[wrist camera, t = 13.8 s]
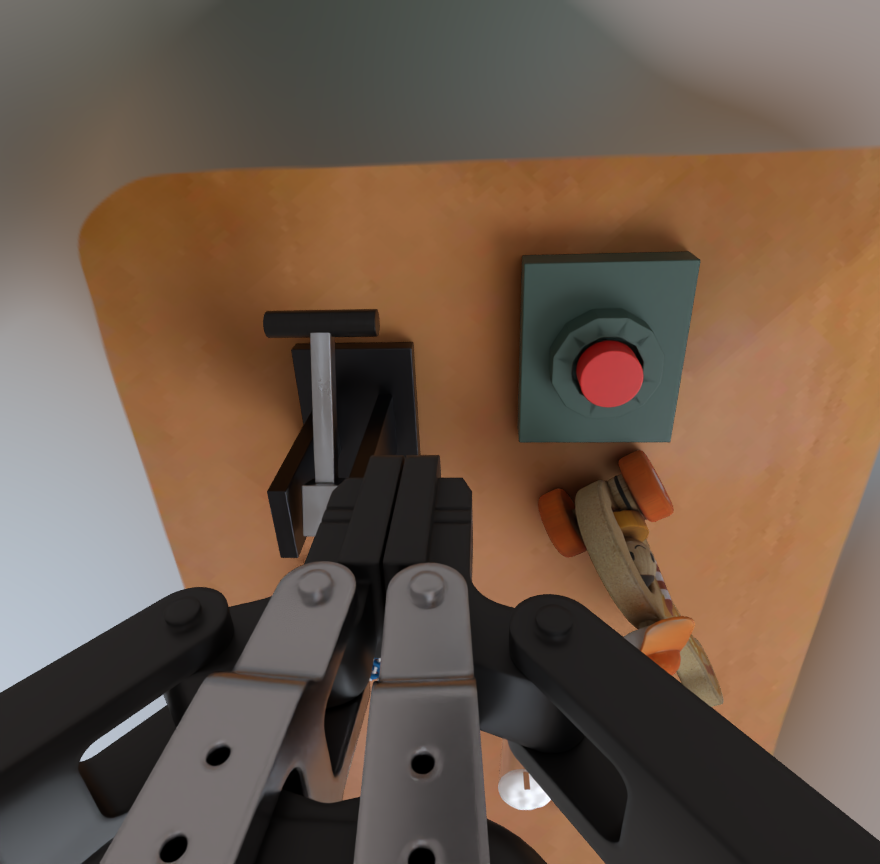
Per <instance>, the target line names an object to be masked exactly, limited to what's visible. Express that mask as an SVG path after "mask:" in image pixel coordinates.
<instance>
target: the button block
mask: <svg viewBox="0 0 880 864" xmlns="http://www.w3.org/2000/svg"><path fill="white" fill-rule="evenodd" d="M699 266H700V259H698V258H697V257H696V256H694V255H693V254H692V253H690V252H689V251H686V252H644V253H601V254H559V255H523V256H522V277H521V314H520V352H519V389H518V426H517V427H518V437H519V442H670V441H671V435H672V429H673V423H674V417H675V411H676V405H677V399H678V393H679V387H680V381H681V375H682V369H683V363H684V357H685V351H686V345H687V339H688V333H689V327H690V321H691V315H692V308H693V302H694V296H695V290H696V284H697V278H698V272H699ZM607 340H613V341H618V342H621V343H624V344H625V345H627V346H628V347H629V348H631V350H632V351H633V352H634V354H635V356H636V357H637V359H638V361H639V362H640V364H641V366H642V369H643V383H642V386H641V388H640V390H639V391H638V393H637V394H636V395H635V396H634V397H633V398H632V399H631V400H630V401H628V402H627V403H625V404H622V405H620V406H616V407H601V406H597V405H595V404H593V403H591V402H590V401H589V400H587V399H586V397H585V396H584V395H583V393H582V391H581V388H580V385H579V382H578V379H577V375H576V367H577V363H578V360H579V358H580V356H581V355H582V354H583V352H584V351H585V350H586V349H587V348H589V347H590V346H592V345H593V344H596V343H598V342H601V341H607Z"/></svg>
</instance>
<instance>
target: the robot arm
mask: <svg viewBox="0 0 880 864" xmlns="http://www.w3.org/2000/svg"><path fill="white" fill-rule="evenodd" d="M472 559H473V527H472V491H471V489H470V488H469V486H468V485H467V483H466V482H465V481H464V479H463V478H441V466H440V456H439V455H406V458H405V456H404V455H372V456H371V457H370V459H369V462H368V465H367V468H366V472H365V475H364V478H346V479H345V480H344V481H343V482H342V483H341V484H339V485H338V486H337V487H336V488H335V489H334V490H333V491H332V493H331V496H330V498H329V501H328V504H327V506H326V510H325V511H324V514H323V517H322V522H321V523H320V524H319V527H318V530H317V532H316V535H315V537H314V540H313V543H312V545H311V548H310V550H309V553H308V556H307V558H306V561H305V563H304V565H302V566H300V567H298V568H296V569H294V570H292V571H291V572H289V573H288V574H287V575H286V576H284V578H283V579H282V580H281V581H280V583H279V584H278V586H277V588H276V590H275V591H274V593H273V595H272V596H270V597H268V598H265V599H261V600H258V601H253V602H249V603H244V604H240V605H235V606H231V607H228V603H227V600H226V598H225V597H224V596H223V594H222V593H220V592H219V591H217V590H214V589H211V588H206V587H194V588H188V589H184V590H180V591H177V592H175V593H172V594H170V595H168V596H166V597H164V598H163V599H161V600H159V601H158V602H156V603H154V604H152V605H151V606H149V607H147V608H145V609H144V610H142V611H140V612H139V613H137V614H135V615H134V616H132V617H130V618H128V619H126V620H125V621H123V622H121V623H120V624H118V625H116V626H114V627H113V628H111V629H110V630H108V631H106V632H104V633H102V634H101V635H99V636H97V637H96V638H94V639H92V640H90V641H89V642H87V643H85V644H84V645H82V646H80V647H78V648H77V649H75V650H73V651H72V652H70V653H68V654H66V655H65V656H63V657H61V658H60V659H58V660H56V661H54V662H53V663H51V664H49V665H47V666H46V667H44V668H42V669H41V670H39V671H37V672H35V673H34V674H32V675H30V676H28V677H27V678H25V679H23V680H22V681H20V682H18V683H16V684H15V685H13V686H11V687H10V688H8V689H6V690H4V691H3V692H1V693H0V864H547V863H546V862H545V861H544V860H543V859H542V858H541V856H540V855H539V854H538V853H537V852H536V851H535V850H534V849H533V848H532V847H530V846H529V845H528V844H527V843H526V842H524V841H523V840H522V839H521V838H520V837H518V836H517V835H515V834H514V833H512V832H511V831H509V830H508V829H506V828H505V827H503V826H501V825H499V824H497V823H495V822H493V821H491V820H489V819H487V817H486V804H485V791H484V778H483V764H482V751H481V738H480V730H482V731H484V732H487V733H490V734H492V735H495V736H498V737H501V738H503V739H506V740H507V741H508V744H509V747H510V750H511V752H512V753H513V755H514V756H515V758H516V759H517V760H518V761H519V762H520V764H521V765H522V766H523V767H524V768H525V769H526V771H527V772H528V773H529V774H530V775H531V776H532V778H533V779H534V780H535V781H536V782H537V784H538V785H539V786H540V787H541V788H542V789H543V791H544V792H545V793H546V794H547V795H548V796H549V798H550V799H551V800H552V801H553V802H554V803H555V805H556V806H557V807H558V808H559V809H560V811H561V812H562V813H563V814H564V815H565V816H566V818H567V819H568V820H569V821H570V822H571V823H572V825H573V826H574V827H575V828H576V829H577V831H578V832H579V833H580V834H581V835H582V836H583V838H584V839H585V840H586V841H587V842H588V843H589V845H590V846H591V847H592V848H593V849H594V850H595V852H596V853H597V854H598V855H599V856H600V858H601V859H602V860H603V861H604V862H605V863H606V864H880V841H879V840H878V839H876V838H875V837H874V836H873V835H871V834H870V833H869V832H868V831H866V830H865V829H864V828H863V827H861V826H860V825H859V824H858V823H856V822H855V821H854V820H852V819H851V818H850V817H849V816H848V815H846V814H845V813H844V812H842V811H841V810H840V809H839V808H837V807H836V806H835V805H834V804H832V803H831V802H830V801H829V800H827V799H826V798H825V797H824V796H822V795H821V794H820V793H819V792H817V791H816V790H815V789H814V788H812V787H811V786H809V784H807V783H806V782H805V781H804V780H802V779H801V778H800V777H798V776H797V775H796V774H795V773H793V772H792V771H791V770H790V769H788V768H787V767H786V766H785V765H783V764H782V763H781V762H780V761H778V760H777V759H776V758H775V757H773V756H772V755H771V754H770V753H768V752H767V751H766V750H765V749H763V748H762V747H761V746H760V745H758V744H757V743H756V742H754V741H753V740H752V739H751V738H749V737H748V736H747V735H746V734H744V733H743V732H742V731H741V730H739V729H738V728H737V727H736V726H734V725H733V724H732V723H731V722H729V721H728V720H727V719H726V718H724V717H723V716H722V715H721V714H719V713H718V712H717V711H716V710H714V709H713V708H712V707H710V706H709V705H708V704H707V703H705V702H704V701H703V700H702V699H700V698H699V697H698V696H697V695H695V694H694V693H693V692H692V691H690V690H689V689H688V688H687V687H685V686H684V685H683V684H682V683H680V682H679V681H678V680H677V679H675V678H674V677H673V676H672V675H670V674H669V673H668V672H667V671H665V670H664V669H663V668H661V667H660V666H659V665H658V664H656V663H655V662H654V661H653V660H651V659H650V658H649V657H648V656H646V655H645V654H644V653H643V652H641V651H640V650H639V649H638V648H636V647H635V646H634V645H633V644H631V643H630V642H629V641H628V640H626V639H625V638H624V637H623V636H621V635H620V634H619V633H617V632H616V631H615V630H614V629H612V628H611V627H610V626H609V625H607V624H606V623H605V622H604V621H602V620H601V619H600V618H599V617H597V616H596V615H595V614H594V613H592V612H591V611H590V610H589V609H587V608H586V607H585V606H583V605H582V604H580V603H579V602H577V601H575V600H573V599H571V598H568V597H565V596H560V595H553V594H543V595H537V596H533V597H530V598H528V599H526V600H524V601H522V602H521V603H519V604H518V605H517V606H516V607H515V608H512V607H509V606H505V605H502V604H499V603H496V602H494V601H492V600H490V599H488V598H486V597H485V596H483V595H482V594H481V593H480V592H479V591H478V590H477V589H476V588H475V586H474V585H473V583H472ZM374 658H381V661H380V672H379V680H378V681H374V683H373V686H372V691H371V698H370V681H369V680H370V677H371V672H372V667H373V662H374ZM161 695H164V698H165V700H166V703H167V705H166V706H165V707H163V708H162V709H161V710H159V711H158V712H157V713H155V714H154V715H152V716H151V717H149V718H148V719H146V720H145V721H144V722H142V723H141V724H139V725H138V726H137V727H135V728H134V729H132V730H131V731H130V732H128V733H127V734H125V735H124V736H122V737H121V738H119V739H118V740H117V741H115V742H114V743H112V744H111V745H110V746H108V747H107V748H105V749H104V750H102V751H101V752H100V753H98V754H97V755H95V756H93V757H92V758H90V759H88V760H85V761H82V762H80V759H81V757H82V755H83V754H84V752H85V751H86V749H88V747H89V746H90V745H91V744H92V743H94V742H95V741H96V740H97V739H99V738H100V737H102V736H103V735H105V734H106V733H108V732H109V731H111V730H112V729H113V728H115V727H116V726H118V725H119V724H121V723H122V722H124V721H125V720H127V719H128V718H129V717H131V716H132V715H133V714H135V713H137V712H138V711H140V710H141V709H143V708H144V707H145V706H147V705H148V704H150V703H151V702H153V701H154V700H155V699H157V698H158V697H160V696H161ZM369 698H370V708H369V718H368V728H367V737H366V747H365V757H364V767H363V776H362V786H361V796H360V797H357V798H353V799H348V800H344V801H342V800H343V794H344V789H345V785H346V781H347V777H348V774H349V770H350V767H351V763H352V759H353V756H354V752H355V749H356V745H357V741H358V738H359V734H360V731H361V727H362V723H363V720H364V716H365V712H366V709H367V705H368V702H369Z"/></svg>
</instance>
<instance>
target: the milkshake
mask: <svg viewBox="0 0 880 864" xmlns="http://www.w3.org/2000/svg"><path fill="white" fill-rule="evenodd" d="M498 790H499V794H500V796H501V797H502V799H503V800H504V801H505V802H506V803H507V804H509V805H510V806H512V807H514V808H516V809H519V810H532V809H535V808H539V807H543V806H544V805H546V804H547V803H548V802H549V801H550V800H551V799H550V798H549V796H548V795H547V794H546V793H545V792H544V791H543V789H542V788H541V787H540V786H539V785H538V784H537V782H536V781H535V780H534V779H533V778H532V776H531V775H530V774H529V773H528V772H527V771H526V769H525V768H524V767H523V766H522V765H521V764H520V762H519V761H518V760H517V759H516V758H515V756H514V755H513V753H512V752H511V750H510V747H509V744H508V741H507V740H506V739H503V738H502V749H501V758H500V770H499V783H498Z"/></svg>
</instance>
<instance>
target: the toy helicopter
mask: <svg viewBox="0 0 880 864" xmlns="http://www.w3.org/2000/svg"><path fill="white" fill-rule="evenodd" d="M619 468H620V471H621V473H622V474H620V475H618V476H615V477H613V478H611V479H610V480H609V481H608V482H607V481H603V480H598V481H596V482H594V483H592V484H590V485H588V486H586V487H584V488H582V489H580V490H579V491H578V492H577V494H576V498H575V505H574V503H573V502H572V500H571V498H570V497H569V495H568V494H567V493H566V492H565V491H564V490H563V489H555V490H553V491H550V492H548V493H546V494H544V495H542V496H541V497H540V498H539V501H538V507H539V512H540V516H541V519H542V522H543V524H544V527H545V529H546V532H547V534H548V536H549V538H550V540H551V541H552V543H553V545H554V546H555V548H556V549H557V550H558V552H559V553H561V554H562V555H563V556H565V557H573V556H575V555H578V554H580V553H583V552H585V551H586V550H587V551H588V553H589V555H590V558H591V560H592V562H593V564H594V566H595V568H596V570H597V572H598V574H599V576H600V578H601V580H602V582H603V584H604V586H605V587H606V589H607V591H608V592H609V594H610V596H611V598H612V599H613V601H614V602H615V604H616V605H617V607H618V608H619V609H620V611H621V612H622V613H623V615H624V616H625V617H626V618H627V620H628V621H629V622H630V623H631V624H632V625H633V626H634V627H636V628H637V629H638V630H635V631H633V632H631V633H629V634H627V635H626V636H624V638H625V639H626V640H628V641H629V642H630V643H631V644H633V645H634V646H635V647H636V648H638V649H639V650H640V651H641V652H643V653H644V654H645V655H646V656H648V657H649V658H650V659H651V660H653V661H654V662H655V663H656V664H658V665H659V666H660V667H661V668H663V669H664V670H665V671H667V672H668V673H669V674H670V675H673V674H675V673H676V672H677V674H678V676H679V678H680V681H681V683H682V684H683V685H684V686H685V687H687V688H688V689H689V690H690V691H692V692H693V693H694V694H695V695H697V696H698V697H699V698H700V699H702V700H703V701H704V702H705V703H707V704H708V705H709V706H710V707H712V706H716V705H721V704H723V695H722V692H721V688H720V686H719V683H718V680H717V678H716V675H715V673H714V670H713V668H712V666H711V664H710V661H709V659H708V657H707V655H706V653H705V651H704V649H703V648H702V646H701V644H700V643H699V642H698V640H697V639H696V638H694V637H693V636H692V634H691V633H692V631H693V629H694V626H695V623H694V621H693V619H692V618H689V617H684V616H681V615H680V614H679V612H678V610H677V608H676V607H675V605H674V603H673V602H672V600H671V598H670V595H669V593H668V590H667V588H666V585H665V583H664V580H663V578H662V575H661V572H660V570H659V567H658V565H657V563H656V560H655V558H654V556H653V554H652V552H651V550H650V547H649V544H648V542H647V540H646V538H647V537H648V534H649V531H648V528H647V526H646V523H645V519H648V520H649V521H651V522H656V521H658V520H660V519H662V518H665V517H667V516H670V515H671V514H672V513H673V510H674V509H673V505H672V502H671V500H670V498H669V496H668V494H667V492H666V490H665V488H664V486H663V484H662V482H661V480H660V478H659V476H658V475H657V473H656V471H655V469H654V467H653V466H652V464H651V462H650V461H649V459H648V457H647V456H646V455H645V453H644V452H643V451H641V450H638V451H635V452H633V453H631V454H628V455H626V456H624V457H622V458H621V459H620V460H619Z"/></svg>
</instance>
